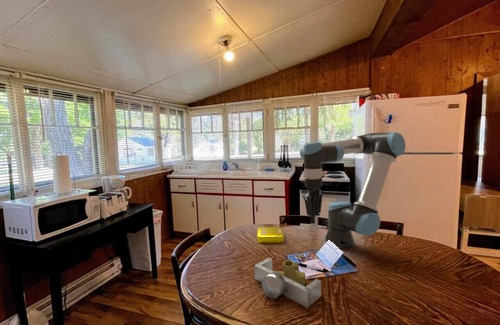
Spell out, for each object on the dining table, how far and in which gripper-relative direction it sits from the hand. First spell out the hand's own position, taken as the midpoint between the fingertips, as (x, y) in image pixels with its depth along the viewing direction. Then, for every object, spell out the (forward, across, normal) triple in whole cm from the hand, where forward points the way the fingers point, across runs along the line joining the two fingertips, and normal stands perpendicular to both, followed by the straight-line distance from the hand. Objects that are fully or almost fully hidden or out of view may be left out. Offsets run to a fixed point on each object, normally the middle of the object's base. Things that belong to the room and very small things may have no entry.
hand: (314, 229), depth 111 cm
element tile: (+18, -12, -38) cm, 43 cm away
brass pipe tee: (+18, +17, -2) cm, 24 cm away
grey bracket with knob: (+17, +23, 0) cm, 29 cm away
